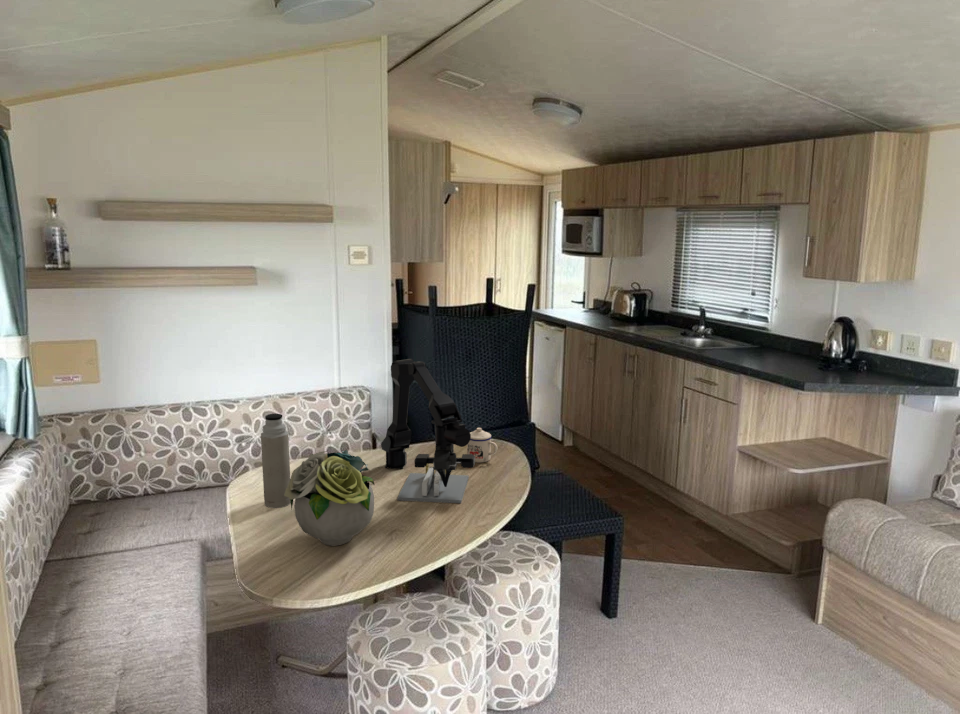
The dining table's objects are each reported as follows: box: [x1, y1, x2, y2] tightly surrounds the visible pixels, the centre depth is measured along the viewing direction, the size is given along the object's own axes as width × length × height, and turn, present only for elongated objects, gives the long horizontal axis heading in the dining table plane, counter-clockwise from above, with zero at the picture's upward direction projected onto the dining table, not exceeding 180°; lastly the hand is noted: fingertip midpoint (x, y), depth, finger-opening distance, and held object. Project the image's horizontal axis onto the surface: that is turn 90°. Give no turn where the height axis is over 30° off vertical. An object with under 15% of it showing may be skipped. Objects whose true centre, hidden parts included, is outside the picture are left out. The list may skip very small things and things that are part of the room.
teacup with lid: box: [466, 427, 499, 463], centre depth 250 cm, size 12×9×12 cm
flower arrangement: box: [284, 449, 375, 547], centre depth 185 cm, size 25×25×24 cm
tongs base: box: [397, 466, 469, 504], centre depth 223 cm, size 20×21×5 cm
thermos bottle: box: [260, 413, 291, 509], centre depth 208 cm, size 8×8×28 cm
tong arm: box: [434, 470, 441, 496], centre depth 222 cm, size 2×16×4 cm, turn 0°
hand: (445, 486), depth 220 cm, fingers closed
